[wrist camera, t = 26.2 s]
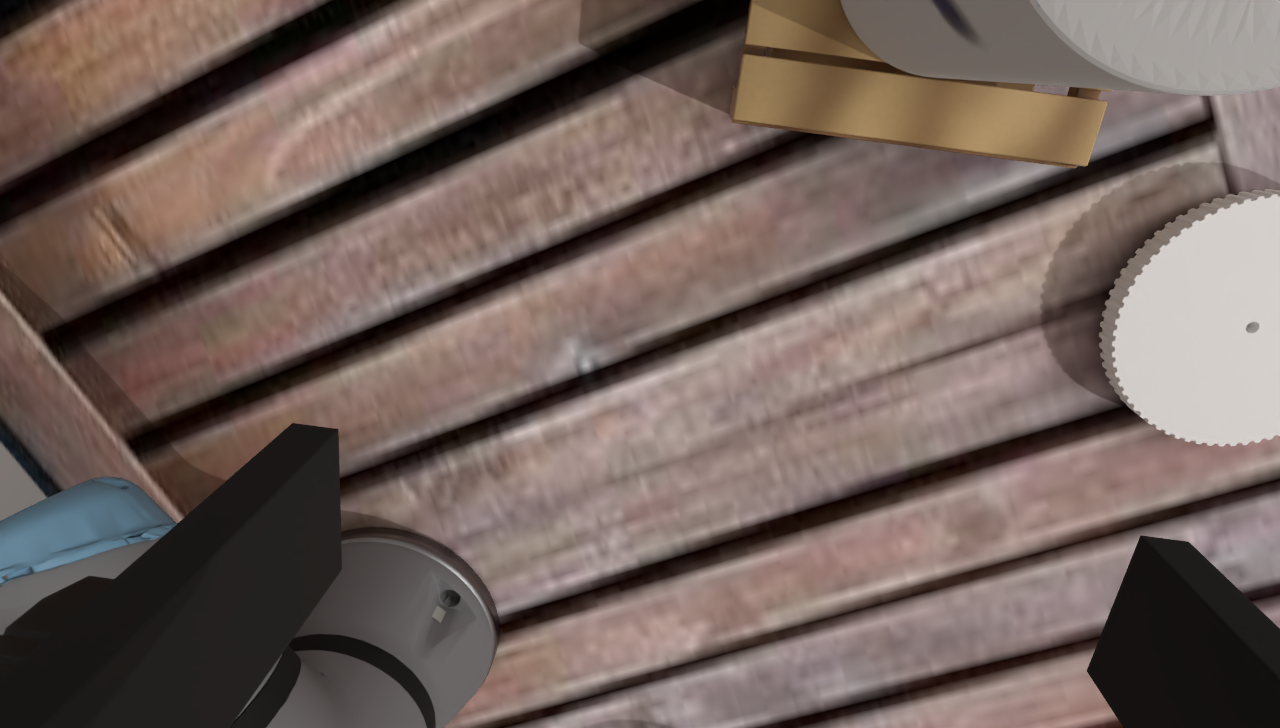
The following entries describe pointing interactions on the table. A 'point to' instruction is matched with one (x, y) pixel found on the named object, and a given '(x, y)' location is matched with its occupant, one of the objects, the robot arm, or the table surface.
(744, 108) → the rack
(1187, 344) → the plastic lid
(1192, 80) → the container
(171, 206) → the table surface
